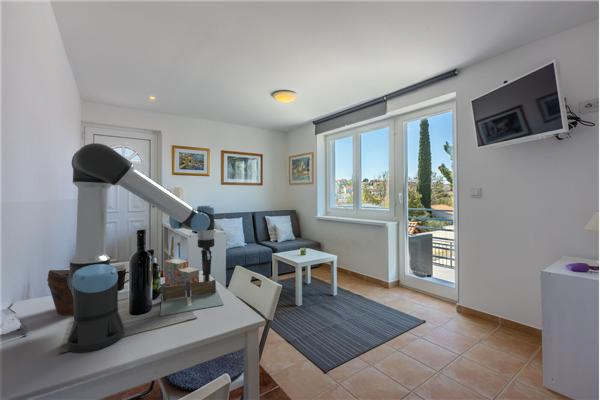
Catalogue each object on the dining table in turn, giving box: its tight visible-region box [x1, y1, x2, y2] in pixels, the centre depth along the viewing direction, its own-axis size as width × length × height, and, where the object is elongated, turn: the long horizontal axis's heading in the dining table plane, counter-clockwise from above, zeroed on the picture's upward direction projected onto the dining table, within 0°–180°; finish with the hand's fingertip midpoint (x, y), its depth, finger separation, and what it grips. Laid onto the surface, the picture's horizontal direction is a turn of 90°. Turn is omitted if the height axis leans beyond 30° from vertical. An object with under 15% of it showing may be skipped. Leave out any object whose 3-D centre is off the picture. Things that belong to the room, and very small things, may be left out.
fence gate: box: [191, 279, 217, 296], centre depth 128 cm, size 1×11×6 cm, turn 110°
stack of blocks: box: [163, 258, 200, 291], centre depth 142 cm, size 21×6×12 cm, turn 55°
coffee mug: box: [114, 266, 130, 292], centre depth 136 cm, size 12×9×10 cm
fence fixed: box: [161, 281, 190, 301], centre depth 123 cm, size 2×11×7 cm, turn 115°
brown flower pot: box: [46, 269, 74, 316], centre depth 114 cm, size 18×20×18 cm
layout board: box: [159, 288, 224, 317], centre depth 122 cm, size 24×24×1 cm
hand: (206, 287), depth 130 cm, fingers closed
